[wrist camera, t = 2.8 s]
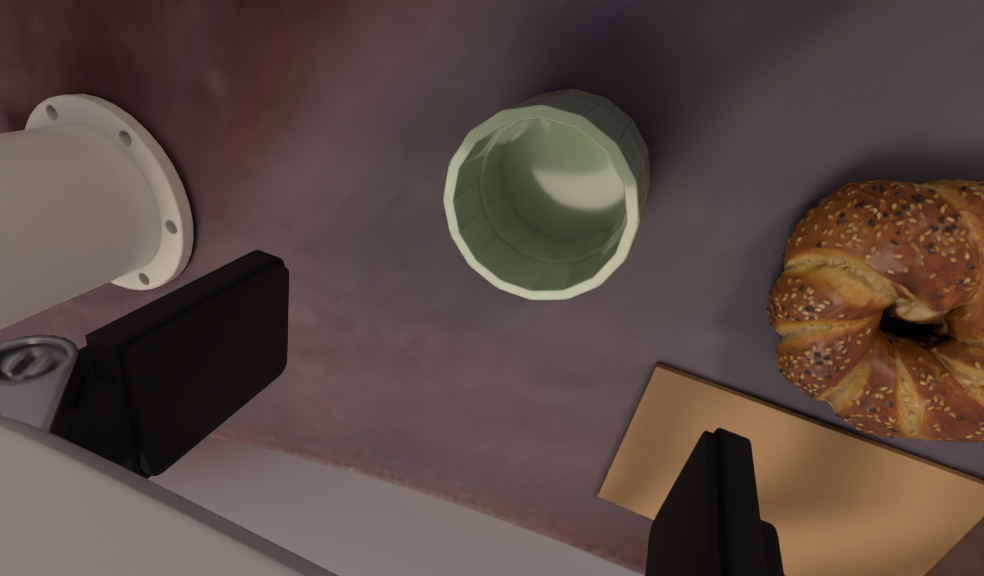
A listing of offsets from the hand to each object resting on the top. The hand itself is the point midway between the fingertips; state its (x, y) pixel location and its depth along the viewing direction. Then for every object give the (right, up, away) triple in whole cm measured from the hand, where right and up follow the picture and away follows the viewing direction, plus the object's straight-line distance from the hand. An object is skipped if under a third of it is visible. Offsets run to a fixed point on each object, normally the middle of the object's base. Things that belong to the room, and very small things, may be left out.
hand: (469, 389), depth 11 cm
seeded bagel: (+18, +2, +11) cm, 21 cm away
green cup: (+4, +7, +13) cm, 16 cm away
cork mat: (+15, -9, +17) cm, 24 cm away
